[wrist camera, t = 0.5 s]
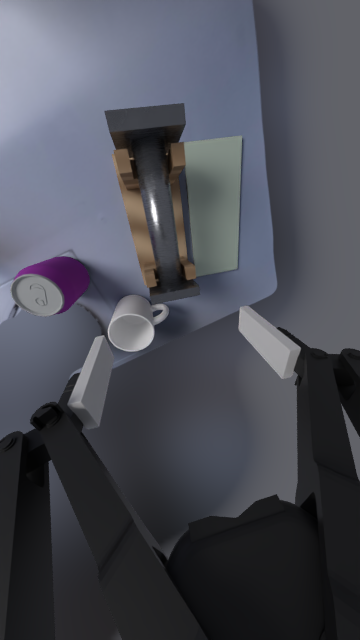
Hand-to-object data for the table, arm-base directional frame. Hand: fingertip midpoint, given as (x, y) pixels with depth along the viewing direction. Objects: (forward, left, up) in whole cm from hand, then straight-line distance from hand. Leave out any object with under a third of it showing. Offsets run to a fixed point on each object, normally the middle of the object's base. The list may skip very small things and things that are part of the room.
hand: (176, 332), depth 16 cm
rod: (-9, +2, -18) cm, 20 cm away
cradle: (-9, +2, -24) cm, 25 cm away
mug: (+7, -5, -24) cm, 26 cm away
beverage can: (-3, -17, -24) cm, 30 cm away
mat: (-9, +13, -24) cm, 29 cm away
